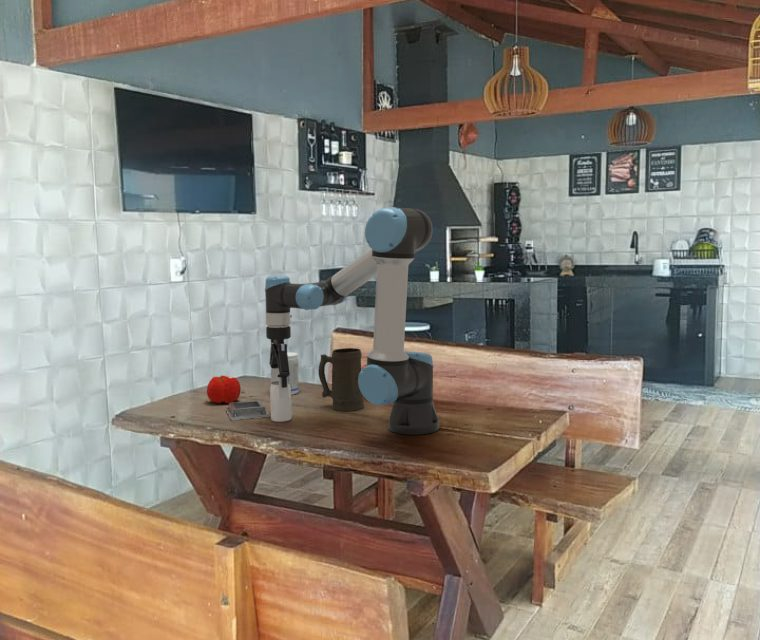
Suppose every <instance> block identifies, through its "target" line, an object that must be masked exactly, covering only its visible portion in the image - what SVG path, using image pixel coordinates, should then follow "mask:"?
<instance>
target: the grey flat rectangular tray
mask: <svg viewBox="0 0 760 640" xmlns="http://www.w3.org/2000/svg"><path fill="white" fill-rule="evenodd" d="M225 411H227V412H226V413H227V416H228V418H229V419H230V421H231V420H233V421H241V420H240V419H243V420H251V419H250V418H254V419H263V417H265V418H269V417H270V414H269V413H270V412H268V411H267V408H266V406H265V404H264V403H263V401H261V400H260V399H257V400H246V401H234V402H232V403H229V404H228V407H226V408H225Z"/></svg>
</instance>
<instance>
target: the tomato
mask: <svg viewBox="0 0 760 640" xmlns="http://www.w3.org/2000/svg"><path fill="white" fill-rule="evenodd" d="M241 389H242V388H241V384H240V381H239V380H238V379H237V377H233V376H231V377H229V376H226V375H220V376H213V377H212V378H211V379H210V380H209V381H208V384H207V388H206V395H207V398H208V399H209V400H210V401H211V402H213V403H215V404H221V403H225V404H228V403H233V402H236V401H237V400H238V399H239V398H240V395H241Z"/></svg>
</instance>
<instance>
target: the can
mask: <svg viewBox="0 0 760 640" xmlns="http://www.w3.org/2000/svg"><path fill="white" fill-rule="evenodd" d="M270 384H271V385H270V388H269V395H270V396H269V399H270V401H269V402H270V420H271V421H272V422H273V421H274V423H286V422H290V421H291V420H292V418H293V417H292V395H291V387H290V385H289V382H288V398H279V381H274V382H272V383H270Z"/></svg>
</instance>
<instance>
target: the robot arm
mask: <svg viewBox="0 0 760 640" xmlns="http://www.w3.org/2000/svg"><path fill="white" fill-rule="evenodd" d="M433 230H434V229H433V223H432V221H431V219H430V216H429V215H428V214H426V213H425V212H424V211H423V210H421V209H417V208H413V207H412V208H409V207H408V208H406V207H405V208H404V207H394V206H393V207H382V208H380V209H377V210H375V211H374V212H373V213H372V214H371V215H370V216H369V217H368V220H367V221H366V224H365V228H364V238H365V242H366V243H367V244H368V247H369V248H370V249H368V250H366V251H365V252H364V253H362V254H361V255H360V256H358V257H357V258H355V259H354V260H353V261H351V262H349V264H347V265H346V266H344V267H343V268H342V269H340V270H339V271H338V272H336V273H334V275H332V276H330V277H329V278H328V279H326V280H325V281H318V282H310V283H309V282H308V283H307V282H306V283H291V281H290V280H291V279H290V277H289V276H287V275H270V276H267V277H266V279H265V288H264V292H265V295H264V297H265V325H266V328H265V331H266V332H265V334H266V335H265V337H266V339H268V340H270V351H269V352H270V353H269V365H270V382H271V383H272V382H274V381H279V398H288V376H289V375H290V373H289V364H288V355H287V352H288V344H287V343H285V340H288V339H290V338H291V337H292V335H291V333H292V332H291V328H292V327H291V326H290V324H291V318H293V315H292V314H291V309H300V310H305V311H308V310H309V311H310V310H317V309H318V308H319V309H320V307H327V306H336V305H339V304H342V303H344V302H345V301H346V300H347V297H348V295H349V294H351V293H353V292H354V291H355V290H357V289H358V288H360V287H361V286H363V285H364V284H365V283H367V282H369V281H370V280H372V279H373V278H374V277H376V282H375V283H376V284H375V297H374V299H375V300H374V301H375V302H374V322H373V325H374V327H373V340H372V341H373V343H372V349H371V350H370V351H369V352H368V353H367V357H366V364H367V366H365V367H364V368H363V369H362V368H361V372H360V374H359V377H358V385H359V389H360V391H361V393H362V395H363V397H364V398H365V400H367V402H369V403H371V404H372V405H375V406H385V405H391V404H392V405H393V406H392V408H391V411H390V415H389V416H388V417H389V418H388V420H387V421H388V422H387V423H388V424H387V425H388V428H387V429H388V430H389V431H390V432H392V433H396V434H400V435H412V436H414V435H415V436H417V435H427V434H432V433H435V432H437V431H438V430H439V429H440V420H439V417H438V414H437V411H436V407H435V405H434V361H433V356H432V354H430V353H427V352H422V351H421V352H419V351H405V333H406V332H405V331H406V320H407V318H406V315H407V314H406V313H407V299H408V298H407V297H408V279H409V278H408V277H409V265H410V264H411V263H412V262H413V261H414V260H415V254H416V253H417V252H419V251H421V250H422V249H424V247H426V246H427V245H428V244H429V243H430V241H431V239H432V236H433ZM271 383H270V384H271Z"/></svg>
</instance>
